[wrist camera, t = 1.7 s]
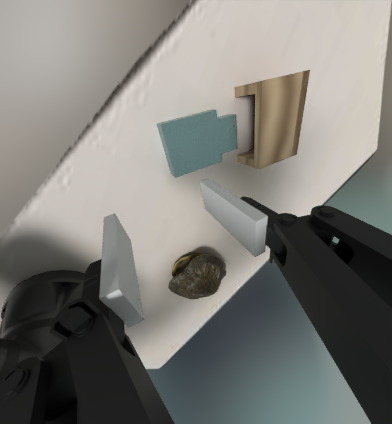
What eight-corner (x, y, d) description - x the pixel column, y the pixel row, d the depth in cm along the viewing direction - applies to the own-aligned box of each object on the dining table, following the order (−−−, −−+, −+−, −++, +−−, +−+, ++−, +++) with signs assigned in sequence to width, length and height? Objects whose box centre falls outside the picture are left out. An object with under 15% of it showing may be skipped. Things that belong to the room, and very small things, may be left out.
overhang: (237, 161, 38) (259, 169, 33) (234, 87, 30) (262, 80, 25) (271, 149, 41) (296, 154, 35) (276, 77, 33) (310, 69, 27)
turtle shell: (201, 312, 53) (165, 311, 38) (188, 288, 59) (152, 278, 44) (240, 279, 52) (218, 264, 37) (223, 258, 58) (198, 237, 43)
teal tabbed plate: (170, 173, 33) (175, 177, 31) (156, 123, 28) (160, 124, 26) (229, 153, 36) (237, 155, 34) (226, 105, 31) (235, 104, 29)
